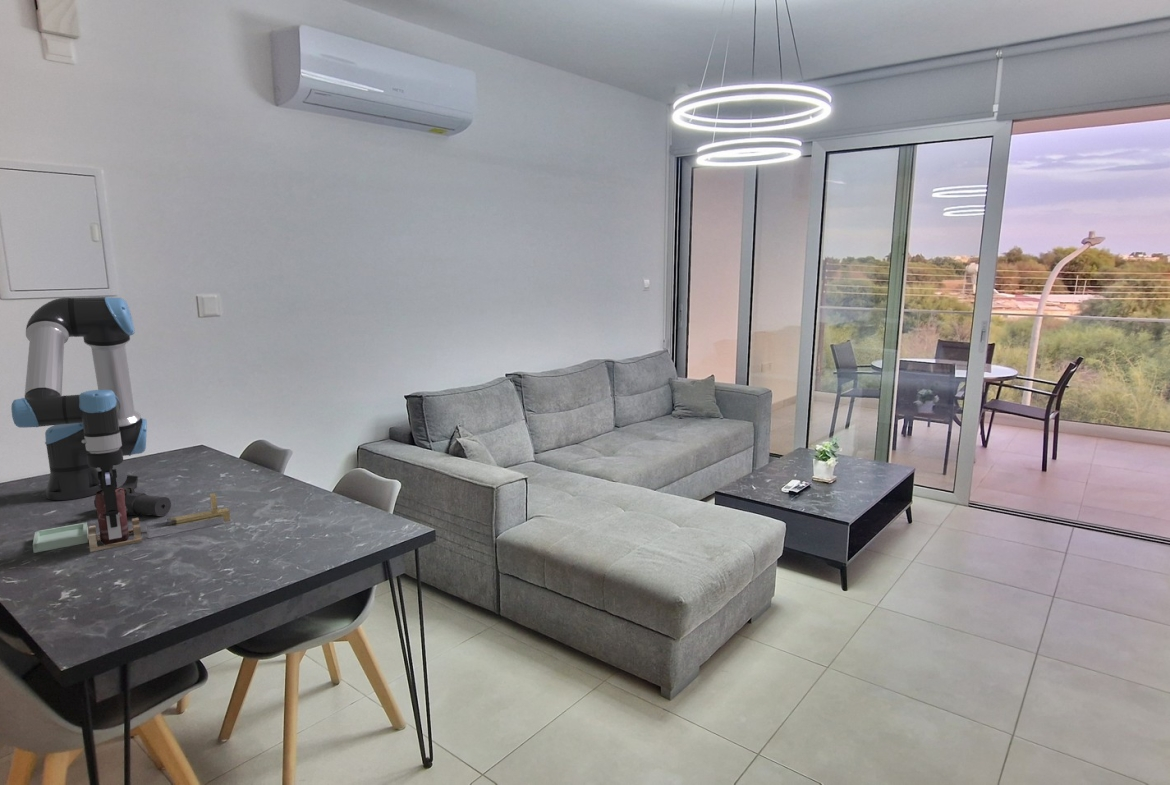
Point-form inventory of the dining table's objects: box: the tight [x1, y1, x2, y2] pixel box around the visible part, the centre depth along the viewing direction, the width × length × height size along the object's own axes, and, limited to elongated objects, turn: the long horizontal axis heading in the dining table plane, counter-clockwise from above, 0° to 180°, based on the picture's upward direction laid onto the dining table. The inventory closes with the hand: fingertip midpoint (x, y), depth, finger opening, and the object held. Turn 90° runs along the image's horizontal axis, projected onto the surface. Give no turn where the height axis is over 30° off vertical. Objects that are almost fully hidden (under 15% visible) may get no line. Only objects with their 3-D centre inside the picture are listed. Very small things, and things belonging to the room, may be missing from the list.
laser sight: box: [93, 474, 172, 517], centre depth 193 cm, size 10×22×10 cm, turn 77°
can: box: [94, 487, 130, 545], centre depth 172 cm, size 6×6×14 cm
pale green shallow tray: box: [32, 521, 89, 554], centre depth 173 cm, size 11×11×2 cm
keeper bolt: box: [166, 492, 231, 526], centre depth 184 cm, size 3×15×8 cm, turn 127°
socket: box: [88, 517, 143, 553], centre depth 172 cm, size 10×11×4 cm
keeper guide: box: [145, 516, 225, 539], centre depth 182 cm, size 6×18×2 cm, turn 127°
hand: (115, 532), depth 172 cm, fingers open, 8 cm apart
